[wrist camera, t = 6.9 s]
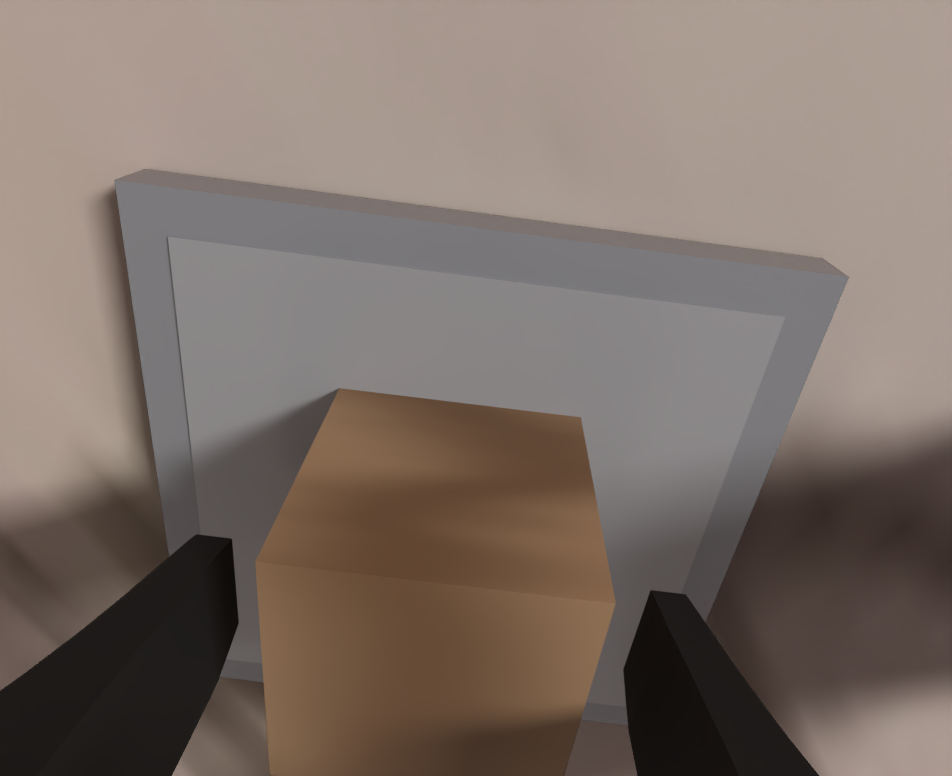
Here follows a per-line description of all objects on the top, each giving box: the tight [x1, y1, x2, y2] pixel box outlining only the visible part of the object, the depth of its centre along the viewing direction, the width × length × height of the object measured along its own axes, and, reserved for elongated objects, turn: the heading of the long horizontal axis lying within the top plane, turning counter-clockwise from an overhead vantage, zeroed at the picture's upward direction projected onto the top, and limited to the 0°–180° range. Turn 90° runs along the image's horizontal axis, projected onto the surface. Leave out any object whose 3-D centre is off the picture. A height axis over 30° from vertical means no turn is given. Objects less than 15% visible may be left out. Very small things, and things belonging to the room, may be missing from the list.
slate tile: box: [115, 169, 849, 726], centre depth 14 cm, size 12×12×1 cm
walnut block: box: [255, 388, 616, 776], centre depth 11 cm, size 4×4×4 cm
